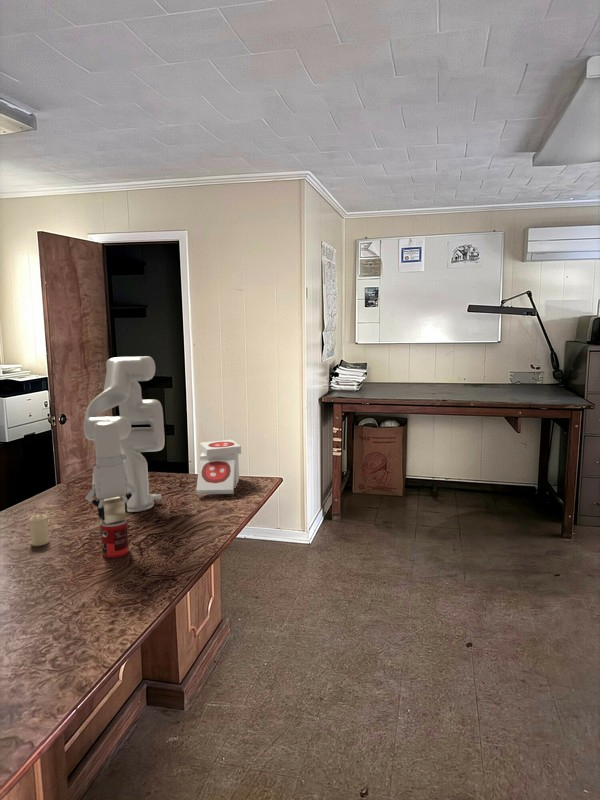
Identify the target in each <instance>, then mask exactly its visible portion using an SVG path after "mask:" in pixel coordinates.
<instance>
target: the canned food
mask: <svg viewBox="0 0 600 800" xmlns="http://www.w3.org/2000/svg"><path fill="white" fill-rule="evenodd" d="M99 524H100V525H99V526H100V537H101V538H100V539H101V552H102V555H103V557H105V558H106V559H118V558H121V557H124V556H126V555H128V553H129V537H128V536H129V535H128V522H127V519H126V520H122V521H118V522H113V523H108V524H106V523H105V522H104V521H103V520H102V519H100V523H99Z"/></svg>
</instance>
